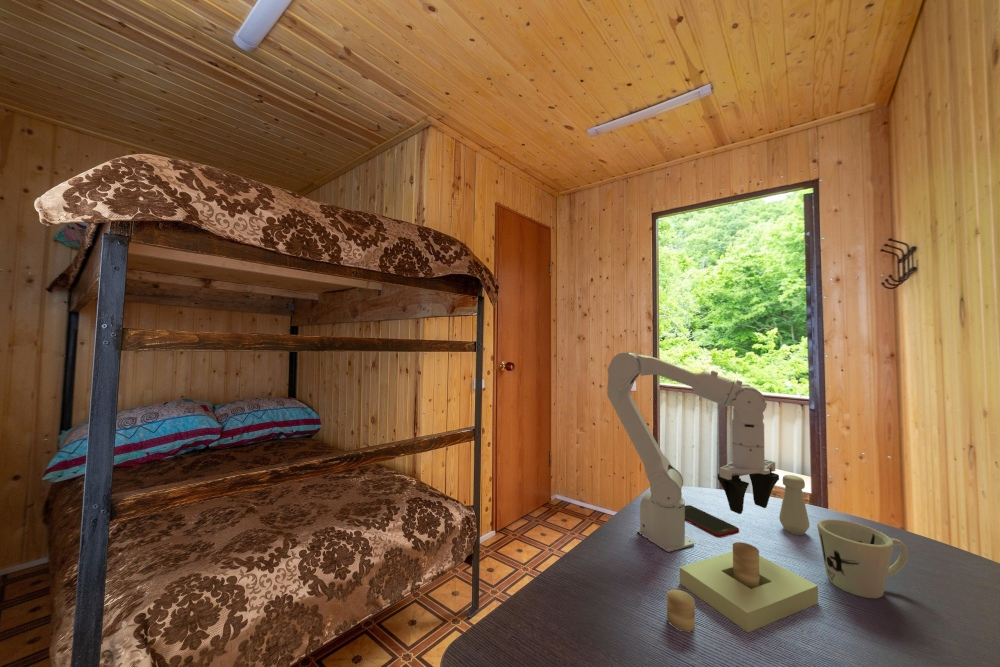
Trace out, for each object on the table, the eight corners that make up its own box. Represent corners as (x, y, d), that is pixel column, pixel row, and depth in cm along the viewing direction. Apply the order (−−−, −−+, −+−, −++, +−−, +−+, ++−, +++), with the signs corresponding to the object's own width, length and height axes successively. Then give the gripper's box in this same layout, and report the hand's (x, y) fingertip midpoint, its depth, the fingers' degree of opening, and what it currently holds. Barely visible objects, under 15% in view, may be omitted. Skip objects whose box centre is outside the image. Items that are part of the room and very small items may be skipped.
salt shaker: (815, 538, 87) (814, 482, 88) (787, 535, 89) (786, 480, 89) (800, 526, 93) (800, 473, 93) (774, 524, 94) (774, 471, 95)
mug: (804, 568, 76) (803, 517, 76) (880, 570, 75) (879, 519, 76) (850, 604, 65) (849, 545, 66) (939, 606, 65) (938, 547, 65)
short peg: (661, 617, 62) (661, 593, 62) (679, 611, 63) (679, 587, 64) (681, 635, 58) (681, 609, 58) (700, 628, 60) (700, 602, 60)
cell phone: (689, 508, 104) (689, 504, 104) (741, 532, 91) (741, 528, 91) (668, 512, 101) (668, 509, 101) (718, 539, 88) (718, 535, 88)
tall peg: (728, 589, 69) (727, 545, 69) (741, 583, 71) (741, 540, 71) (750, 603, 65) (750, 556, 66) (764, 596, 67) (764, 551, 67)
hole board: (679, 583, 71) (679, 567, 71) (744, 562, 78) (744, 547, 78) (748, 632, 59) (747, 613, 59) (818, 603, 66) (817, 585, 66)
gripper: (742, 452, 73) (743, 523, 73) (790, 445, 78) (791, 511, 78) (710, 443, 79) (710, 508, 79) (756, 437, 85) (756, 498, 85)
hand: (748, 508), depth 79 cm, fingers open, 7 cm apart
